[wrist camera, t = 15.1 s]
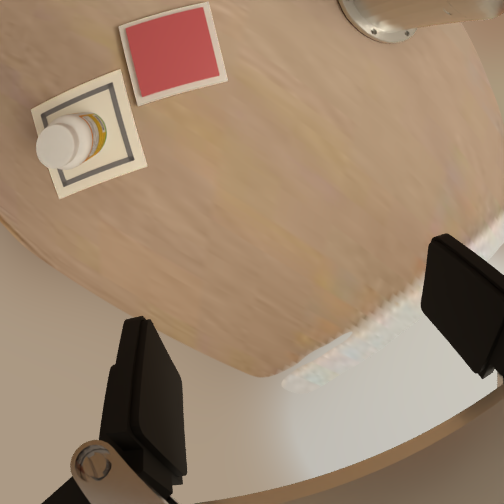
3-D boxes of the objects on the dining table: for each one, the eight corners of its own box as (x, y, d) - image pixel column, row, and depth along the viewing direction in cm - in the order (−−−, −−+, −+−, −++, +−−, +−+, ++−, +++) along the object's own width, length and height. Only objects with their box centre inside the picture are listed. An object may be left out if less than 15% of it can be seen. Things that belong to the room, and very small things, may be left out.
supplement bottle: (61, 152, 31) (24, 170, 22) (72, 107, 29) (36, 111, 20) (101, 162, 32) (74, 182, 24) (113, 117, 30) (88, 122, 22)
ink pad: (207, 4, 27) (209, -1, 25) (226, 81, 32) (228, 80, 30) (120, 28, 26) (116, 24, 24) (139, 106, 31) (136, 106, 29)
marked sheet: (120, 69, 28) (120, 68, 28) (147, 165, 34) (147, 166, 34) (31, 109, 28) (30, 109, 27) (60, 198, 33) (59, 199, 33)
